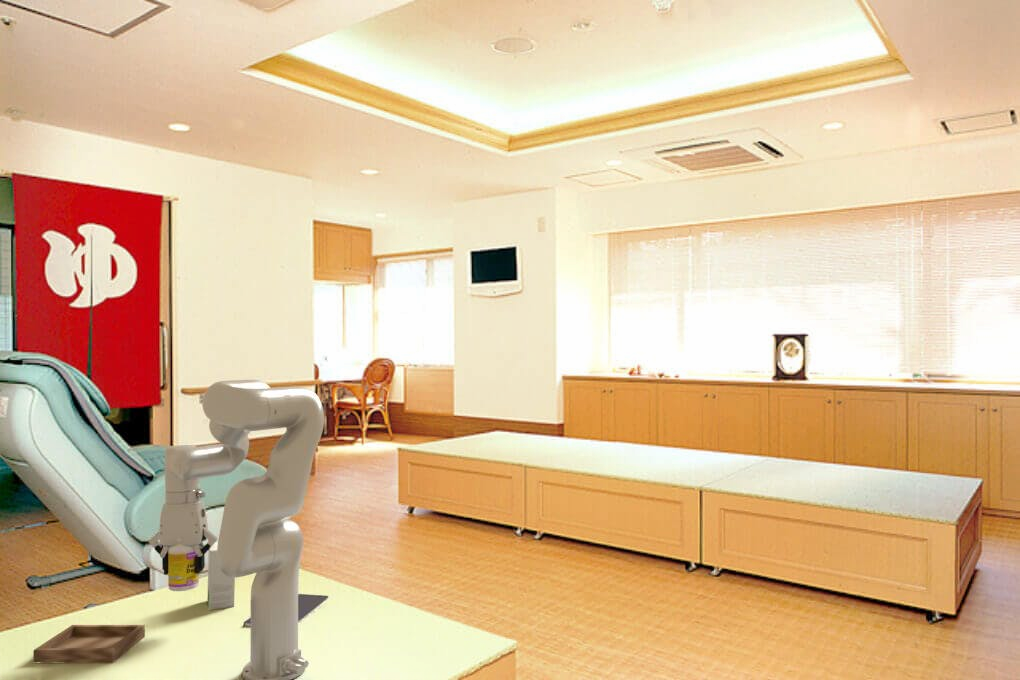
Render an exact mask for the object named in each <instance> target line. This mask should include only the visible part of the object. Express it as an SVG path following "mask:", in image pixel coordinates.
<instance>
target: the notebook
mask: <svg viewBox="0 0 1020 680" xmlns="http://www.w3.org/2000/svg"><path fill="white" fill-rule="evenodd" d="M328 598H329V595H321V594H310V593H309V594H308V593H307V594H304V593H298V623H300V622H301V621H302V620H303V619H305V618H306V617H307V616H308V615H309V614H311V613H312V612H313V611H314V610H315V609H316V608H317V607H319V606H320V605H321V604H322V603H323V602H324V601H326V600H327V599H328ZM328 600H329V599H328ZM319 608H320V607H319ZM314 612H315V611H314ZM314 612H313V613H314ZM313 613H312V614H313ZM312 614H311V615H312ZM308 617H309V616H308ZM308 617H307V618H308ZM307 618H306V619H307ZM306 619H305V620H306ZM303 621H304V620H303ZM303 621H302V622H303ZM302 622H301V623H302ZM301 623H300V624H301ZM250 626H251V617H249V618H248V619H246V620H245V621H243V627H250Z"/></svg>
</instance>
